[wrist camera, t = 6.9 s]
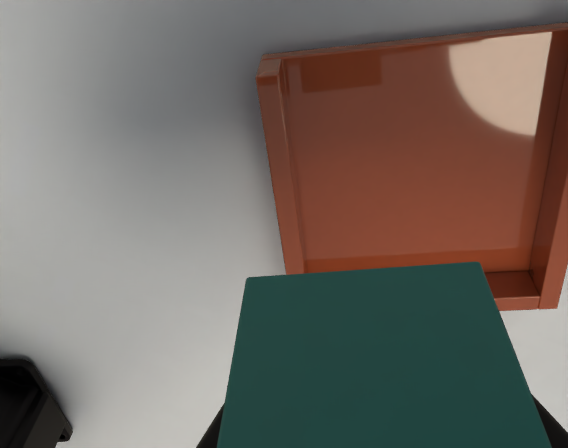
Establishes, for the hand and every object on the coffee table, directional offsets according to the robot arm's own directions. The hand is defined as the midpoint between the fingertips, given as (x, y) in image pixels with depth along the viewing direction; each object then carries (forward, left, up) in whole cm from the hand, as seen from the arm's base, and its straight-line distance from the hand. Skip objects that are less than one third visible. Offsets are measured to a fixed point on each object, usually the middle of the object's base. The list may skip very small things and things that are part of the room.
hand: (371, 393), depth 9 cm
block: (0, 0, -1) cm, 1 cm away
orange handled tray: (+2, -4, -11) cm, 12 cm away
